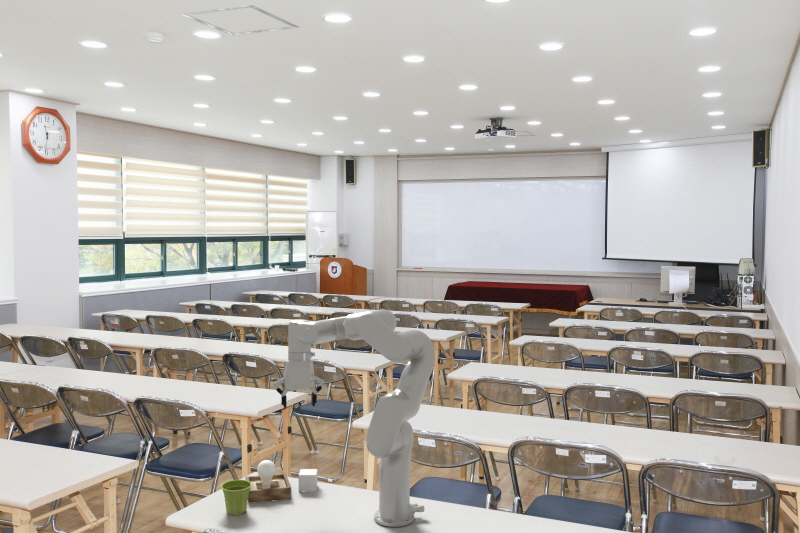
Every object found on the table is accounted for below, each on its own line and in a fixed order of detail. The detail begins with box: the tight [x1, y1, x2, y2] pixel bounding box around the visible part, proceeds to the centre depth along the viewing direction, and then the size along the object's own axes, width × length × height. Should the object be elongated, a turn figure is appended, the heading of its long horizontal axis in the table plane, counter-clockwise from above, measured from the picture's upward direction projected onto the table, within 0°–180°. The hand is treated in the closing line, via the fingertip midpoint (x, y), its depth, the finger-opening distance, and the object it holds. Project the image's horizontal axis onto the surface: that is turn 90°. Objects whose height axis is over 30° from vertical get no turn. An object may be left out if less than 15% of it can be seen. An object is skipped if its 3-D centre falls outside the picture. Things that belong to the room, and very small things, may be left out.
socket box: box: [244, 472, 292, 504], centre depth 231 cm, size 14×14×4 cm
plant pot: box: [220, 479, 252, 516], centre depth 216 cm, size 9×9×9 cm
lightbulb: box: [256, 459, 276, 489], centre depth 231 cm, size 6×6×11 cm
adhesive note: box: [298, 468, 318, 493], centre depth 236 cm, size 6×6×6 cm
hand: (299, 406), depth 230 cm, fingers open, 9 cm apart
